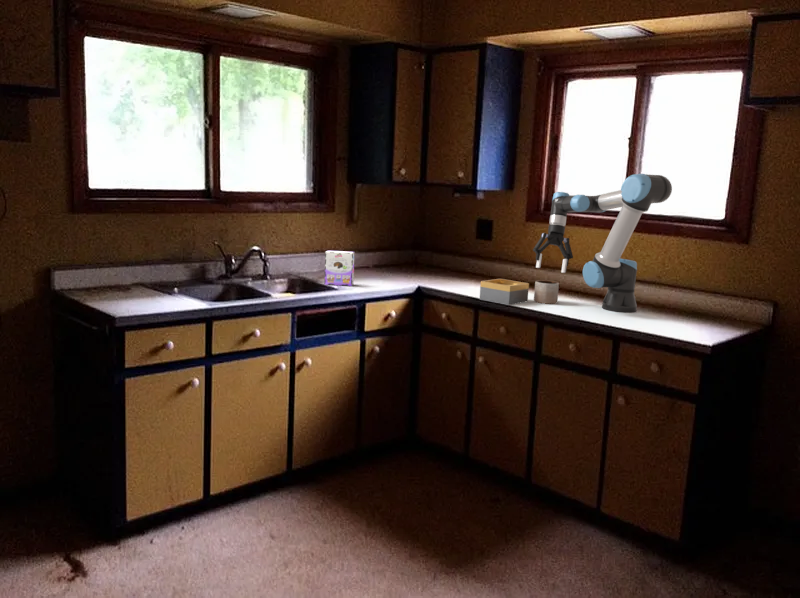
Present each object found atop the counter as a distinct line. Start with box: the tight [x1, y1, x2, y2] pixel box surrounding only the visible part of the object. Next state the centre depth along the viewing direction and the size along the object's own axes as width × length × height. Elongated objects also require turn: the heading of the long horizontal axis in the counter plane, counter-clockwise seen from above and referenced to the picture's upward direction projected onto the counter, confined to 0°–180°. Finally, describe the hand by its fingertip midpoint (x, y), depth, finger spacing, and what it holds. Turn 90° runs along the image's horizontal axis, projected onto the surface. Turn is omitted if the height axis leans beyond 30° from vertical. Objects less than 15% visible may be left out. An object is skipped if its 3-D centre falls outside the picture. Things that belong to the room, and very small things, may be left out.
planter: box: [533, 279, 560, 305], centre depth 346 cm, size 11×11×10 cm
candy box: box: [323, 250, 355, 287], centre depth 365 cm, size 14×6×16 cm, turn 84°
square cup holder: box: [479, 278, 530, 306], centre depth 345 cm, size 16×16×8 cm
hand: (550, 270), depth 347 cm, fingers open, 13 cm apart
